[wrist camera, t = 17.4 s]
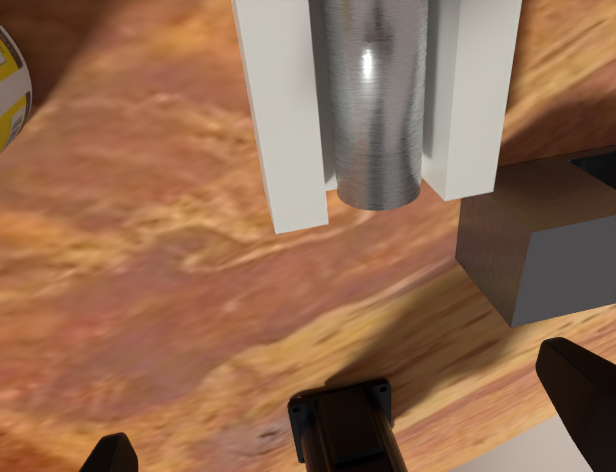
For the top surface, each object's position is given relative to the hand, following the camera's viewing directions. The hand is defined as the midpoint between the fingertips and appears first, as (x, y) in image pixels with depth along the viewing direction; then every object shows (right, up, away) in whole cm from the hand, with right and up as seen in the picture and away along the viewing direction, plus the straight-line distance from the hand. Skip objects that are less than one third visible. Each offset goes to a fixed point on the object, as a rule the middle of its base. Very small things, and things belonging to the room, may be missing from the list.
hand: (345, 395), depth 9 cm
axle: (+1, +10, +5) cm, 11 cm away
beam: (+14, +6, +14) cm, 20 cm away
